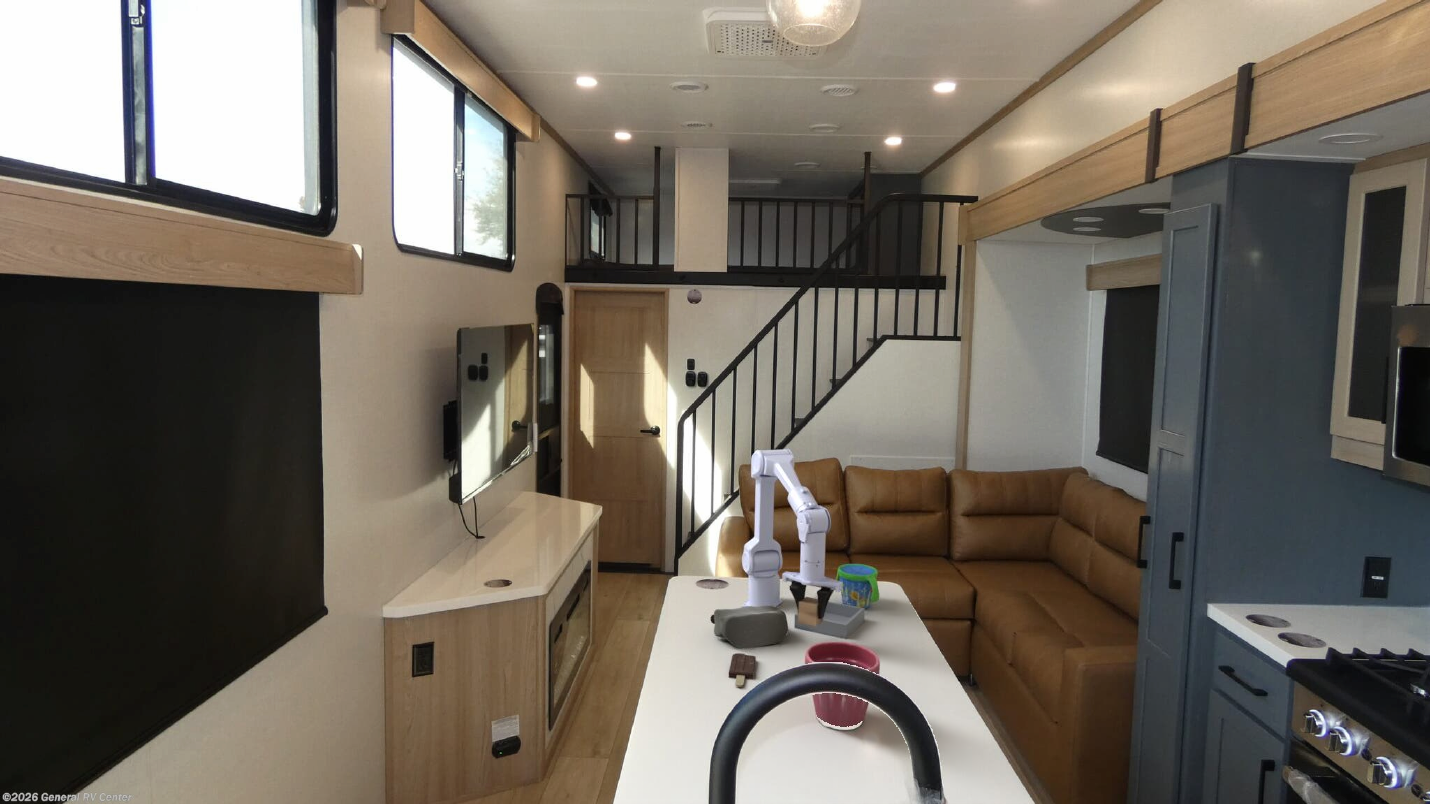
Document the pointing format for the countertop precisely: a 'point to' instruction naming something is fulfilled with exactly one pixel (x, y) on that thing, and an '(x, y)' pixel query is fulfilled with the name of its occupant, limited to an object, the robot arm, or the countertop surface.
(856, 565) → the snack cup
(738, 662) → the ice cream bar
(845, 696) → the plant pot
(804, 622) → the walnut block
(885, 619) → the countertop surface
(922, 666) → the countertop surface
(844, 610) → the bin
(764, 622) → the grey rounded lump
